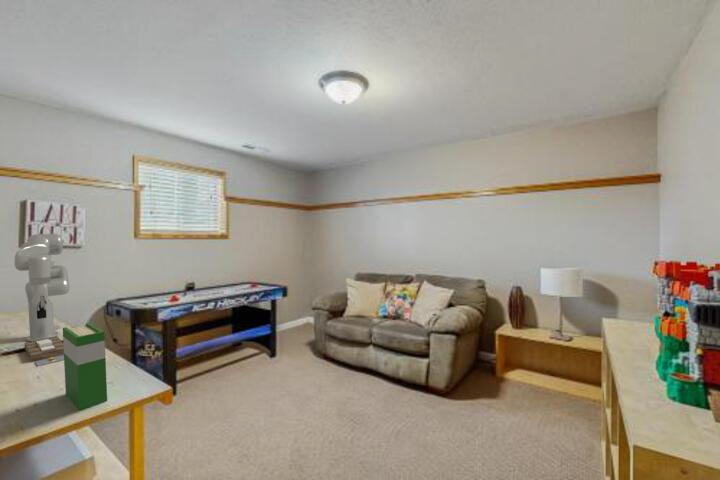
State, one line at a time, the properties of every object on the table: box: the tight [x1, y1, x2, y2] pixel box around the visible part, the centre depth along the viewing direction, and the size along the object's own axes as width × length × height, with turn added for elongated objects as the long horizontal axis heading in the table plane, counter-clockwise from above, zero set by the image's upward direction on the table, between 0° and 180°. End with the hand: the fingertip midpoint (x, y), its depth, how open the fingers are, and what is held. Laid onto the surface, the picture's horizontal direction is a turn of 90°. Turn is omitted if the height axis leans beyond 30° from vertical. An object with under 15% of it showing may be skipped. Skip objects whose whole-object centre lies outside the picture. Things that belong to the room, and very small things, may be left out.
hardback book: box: [62, 322, 108, 412], centre depth 115 cm, size 18×7×24 cm, turn 53°
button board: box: [23, 335, 64, 363], centre depth 159 cm, size 26×12×3 cm, turn 50°
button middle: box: [38, 340, 52, 348], centre depth 159 cm, size 4×4×2 cm
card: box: [34, 355, 64, 367], centre depth 148 cm, size 7×10×1 cm
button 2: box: [40, 345, 55, 351], centre depth 155 cm, size 4×4×2 cm
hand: (41, 318), depth 163 cm, fingers closed
